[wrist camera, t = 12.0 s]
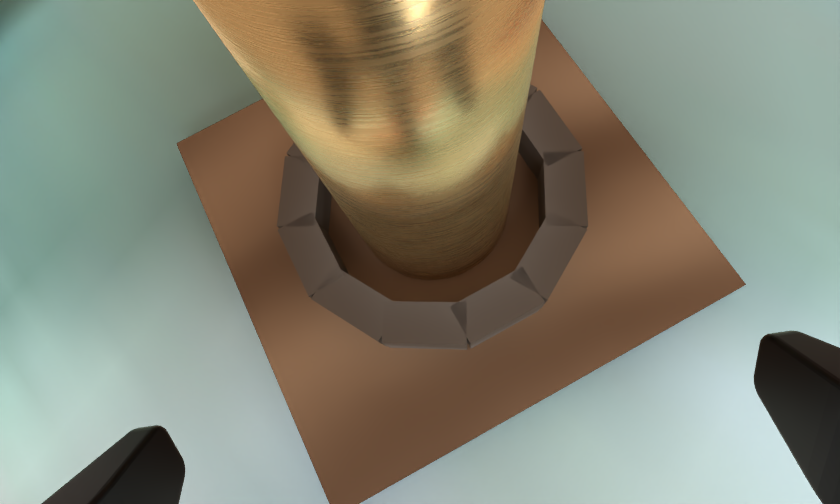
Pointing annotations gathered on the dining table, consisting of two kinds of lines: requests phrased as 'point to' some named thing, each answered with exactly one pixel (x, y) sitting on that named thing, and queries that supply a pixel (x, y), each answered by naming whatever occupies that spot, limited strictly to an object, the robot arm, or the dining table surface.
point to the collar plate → (452, 283)
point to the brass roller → (398, 112)
